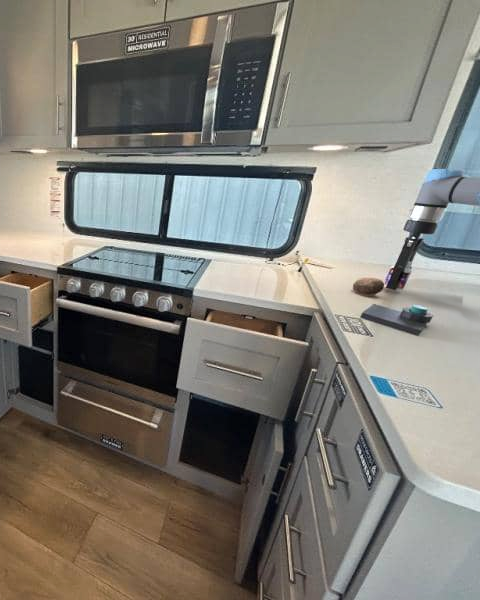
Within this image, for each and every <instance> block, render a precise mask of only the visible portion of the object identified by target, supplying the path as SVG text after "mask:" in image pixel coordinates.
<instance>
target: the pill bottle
mask: <svg viewBox="0 0 480 600" xmlns="http://www.w3.org/2000/svg"><path fill="white" fill-rule="evenodd" d="M396 262H397V260H396V261H395V263H396ZM412 265H413V261H412V262H408V264H407V266H406V268H405V271H404V274H403V276H402V278H401V280H400V283H399V285H398V287H397V289H396V290H395V291H403V290H404V288H405V286H406V284H407V282H408V280H409V278H410V276H411V275H412V272H413V271H412V268H411V269H410V268H409V267H412ZM394 266H395V265H391V266H390V268H389V271H388V273H387V275H386V277H385V279H384V281H383V283H384V288H386V286H387V284H388V281H389V279H390V277H391V275H392V272H393V270H391V268H393V267H394Z"/></svg>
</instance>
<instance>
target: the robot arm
mask: <svg viewBox="0 0 480 600" xmlns="http://www.w3.org/2000/svg"><path fill="white" fill-rule="evenodd" d="M463 173H464V171H463V169H455V168H453V169H452V168H450V169H449V168H433V169H431V170H429V172H428V173H427V174H426V177H425V178H424V181H423V182H422V184H421V187H420V189H419V192H418V194H417V197H416V200H415V202H414V204H413V206H412V207H410V208H409V209H408V211H410V213H409V215H408V217H409V219H407V220H406V221H405V224H404V225H403V226H404V227H403V231H404V232H408V233H410V235H409V236H407V237H405V239H404V244H403V246H402V247H401V251H400V252H399V255H398V257H397V260H396V261H397V262H396V261H395V264H394V265H393V266H394V267H393V268H391V267H390V268H391V270H393V272H392V275H391V277H390V279H389V281H388V284H387V286H386V287H385V289H389V290H393V291H397V290H396V289H397V287H398V285H399V283H400V280H401V278H402V276H403V274H404V271H405V268H406V266H407V264H408V262H412V263H413V261H414V259H415V256H416V254H417V252H418V251H419V249H420V248H421V246H422V245H423V243H424V240H425V238H423V236H424V235H434V234H435V233H436V231H437V229H438V226H439V222H440V221H441V220H442V219H443V216H444V214H445V212H446V210H447V208H448V205H449V204H459V205H466V206H467V205H468V206H478V207H480V177H468V176H463ZM409 268H410V269H411V270H412V268H413V266H411V267H409Z"/></svg>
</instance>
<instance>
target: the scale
mask: <svg viewBox="0 0 480 600" xmlns="http://www.w3.org/2000/svg"><path fill="white" fill-rule="evenodd" d="M411 308H412V307H403V308H402V310H401V311H400V310H397V309H393V308H390V307H387V306H383V305H380V304H377V303H372V305H370V306H369V307H368V308H366V309H365V310H364V311H362V313H361V314H360V319H363V320H366V321H368V322H373V323H375V324H377V325H378V324H379V325H382V326H385V327H388V328H392V329H394V330H398V331H401V332H404V333H407V334H410V335H413V336H416V337H418V336H419V335H420V334H421V332H422V331H423V330H424V328H426V325H427V324H429V323H430V322H431V321H432V319H433V317H434V315H433V314H432V313H430V312H429V311H427V312H426V314H425V315H421V314H417V313H413V312H411V311H410V310H411Z"/></svg>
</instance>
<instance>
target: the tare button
mask: <svg viewBox="0 0 480 600" xmlns="http://www.w3.org/2000/svg"><path fill="white" fill-rule="evenodd" d="M410 308H411V310H410V311H411V312H413V313H417V314H421V315H425V314H426V312H428V310H429V308H427V307H425V306H423V305H417V304H413V305H412V307H410Z"/></svg>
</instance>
